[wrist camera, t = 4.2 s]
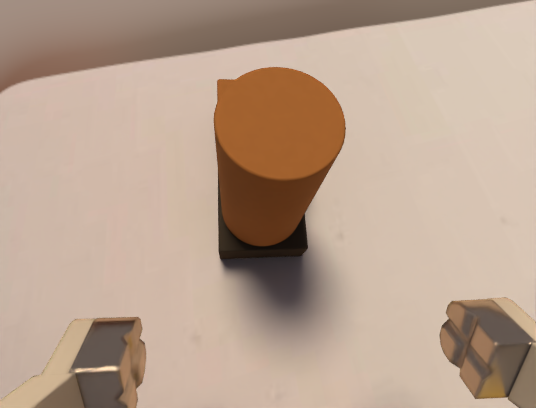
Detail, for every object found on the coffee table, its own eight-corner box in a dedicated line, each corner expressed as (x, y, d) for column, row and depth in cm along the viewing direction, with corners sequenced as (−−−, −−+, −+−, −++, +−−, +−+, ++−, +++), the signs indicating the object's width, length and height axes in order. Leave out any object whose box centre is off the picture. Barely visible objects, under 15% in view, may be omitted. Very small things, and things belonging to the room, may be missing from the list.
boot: (219, 259, 21) (207, 187, 11) (218, 117, 25) (208, -37, 15) (301, 256, 22) (361, 185, 12) (289, 117, 25) (327, -32, 15)
